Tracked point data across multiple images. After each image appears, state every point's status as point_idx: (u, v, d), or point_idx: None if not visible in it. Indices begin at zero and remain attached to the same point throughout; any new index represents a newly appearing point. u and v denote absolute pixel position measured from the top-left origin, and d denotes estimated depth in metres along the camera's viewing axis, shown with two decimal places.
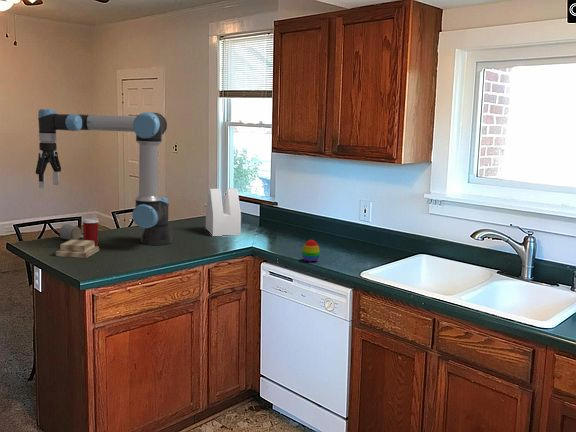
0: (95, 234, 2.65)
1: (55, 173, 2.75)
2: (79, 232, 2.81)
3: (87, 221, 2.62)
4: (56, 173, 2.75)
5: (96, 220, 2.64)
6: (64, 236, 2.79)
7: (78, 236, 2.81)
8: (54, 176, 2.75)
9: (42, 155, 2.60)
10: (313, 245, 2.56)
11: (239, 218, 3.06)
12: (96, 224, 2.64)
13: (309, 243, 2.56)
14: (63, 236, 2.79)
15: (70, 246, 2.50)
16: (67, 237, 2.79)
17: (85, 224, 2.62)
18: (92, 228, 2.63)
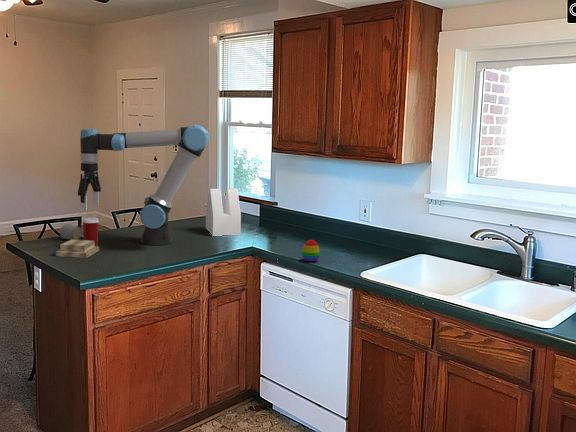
0: (95, 234, 2.65)
1: (95, 193, 2.70)
2: (80, 232, 2.82)
3: (87, 221, 2.62)
4: (96, 193, 2.70)
5: (96, 220, 2.64)
6: (65, 236, 2.79)
7: (79, 236, 2.81)
8: (94, 196, 2.70)
9: (84, 176, 2.55)
10: (313, 245, 2.56)
11: (239, 218, 3.06)
12: (96, 224, 2.64)
13: (309, 243, 2.56)
14: (64, 236, 2.80)
15: (70, 246, 2.50)
16: (68, 237, 2.79)
17: (85, 224, 2.62)
18: (92, 228, 2.63)
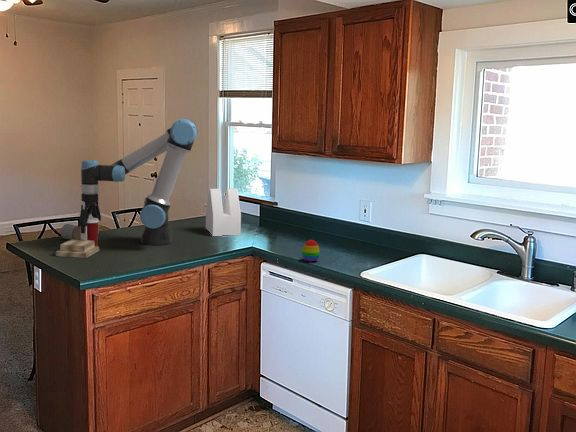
0: (95, 234, 2.65)
1: None
2: (80, 232, 2.82)
3: (87, 221, 2.62)
4: None
5: (96, 220, 2.64)
6: (65, 236, 2.80)
7: (79, 236, 2.82)
8: None
9: (85, 207, 2.57)
10: (313, 245, 2.56)
11: (239, 218, 3.06)
12: (96, 224, 2.64)
13: (309, 243, 2.56)
14: (64, 236, 2.80)
15: (70, 246, 2.50)
16: (68, 237, 2.79)
17: None
18: (92, 228, 2.63)
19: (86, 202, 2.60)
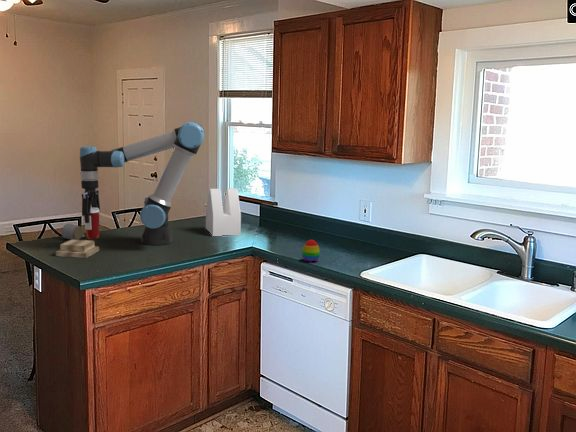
0: (96, 224, 2.64)
1: None
2: (81, 232, 2.82)
3: None
4: None
5: (97, 210, 2.63)
6: (66, 236, 2.80)
7: (80, 236, 2.82)
8: None
9: (85, 196, 2.57)
10: (313, 245, 2.56)
11: (239, 218, 3.06)
12: (97, 214, 2.64)
13: (309, 243, 2.56)
14: (65, 236, 2.81)
15: (70, 246, 2.50)
16: (69, 237, 2.80)
17: None
18: (93, 218, 2.62)
19: (86, 189, 2.59)
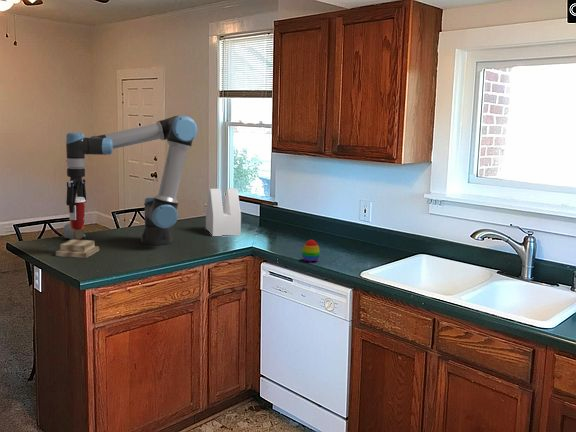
0: (81, 214, 2.51)
1: None
2: (81, 231, 2.83)
3: None
4: None
5: (82, 199, 2.50)
6: (67, 235, 2.81)
7: (80, 235, 2.83)
8: None
9: (71, 185, 2.44)
10: (313, 245, 2.56)
11: (239, 218, 3.06)
12: (82, 204, 2.51)
13: (309, 243, 2.56)
14: (66, 235, 2.81)
15: (70, 246, 2.50)
16: (70, 236, 2.80)
17: None
18: (78, 207, 2.49)
19: (72, 177, 2.46)
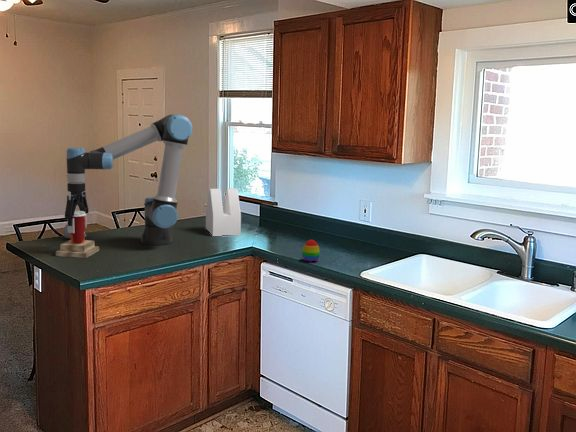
0: (82, 228, 2.53)
1: None
2: None
3: None
4: None
5: (83, 213, 2.52)
6: (67, 235, 2.81)
7: None
8: None
9: (71, 198, 2.45)
10: (313, 245, 2.56)
11: (239, 218, 3.06)
12: (83, 218, 2.52)
13: (309, 243, 2.56)
14: (66, 235, 2.82)
15: (70, 246, 2.50)
16: (70, 236, 2.81)
17: None
18: (78, 221, 2.51)
19: (72, 192, 2.47)
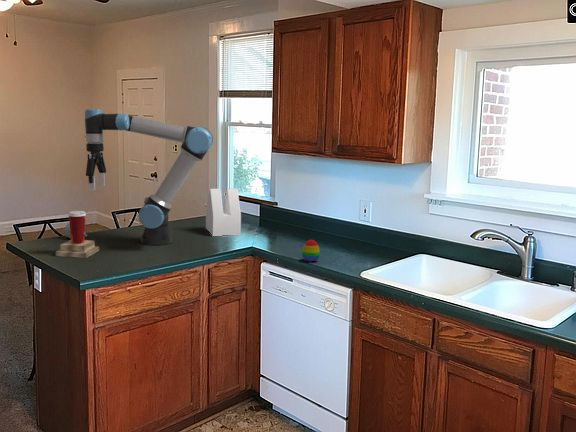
0: (82, 228, 2.53)
1: (101, 174, 2.69)
2: None
3: (73, 214, 2.50)
4: (102, 174, 2.69)
5: (83, 213, 2.52)
6: (68, 235, 2.82)
7: None
8: (100, 177, 2.70)
9: (91, 156, 2.55)
10: (313, 245, 2.56)
11: (239, 218, 3.06)
12: (83, 218, 2.52)
13: (309, 243, 2.56)
14: (67, 235, 2.82)
15: (70, 246, 2.50)
16: None
17: (71, 218, 2.50)
18: (79, 221, 2.51)
19: (92, 151, 2.57)
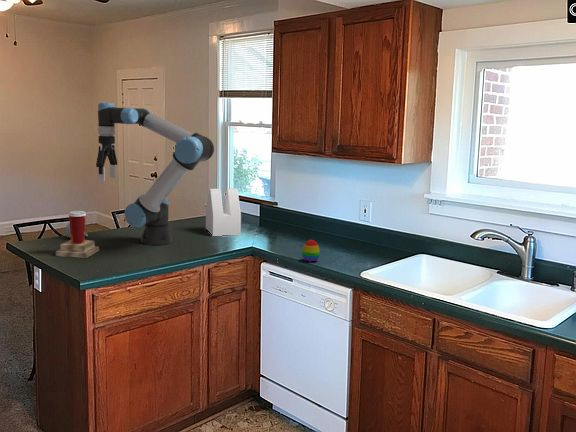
0: (82, 228, 2.53)
1: (112, 166, 2.78)
2: None
3: (73, 214, 2.50)
4: (113, 166, 2.78)
5: (83, 213, 2.52)
6: (69, 235, 2.82)
7: None
8: (111, 169, 2.78)
9: (102, 148, 2.63)
10: (313, 245, 2.56)
11: (239, 218, 3.06)
12: (83, 218, 2.52)
13: (309, 243, 2.56)
14: (68, 235, 2.82)
15: (70, 246, 2.50)
16: None
17: (71, 218, 2.50)
18: (79, 221, 2.51)
19: (103, 144, 2.66)
